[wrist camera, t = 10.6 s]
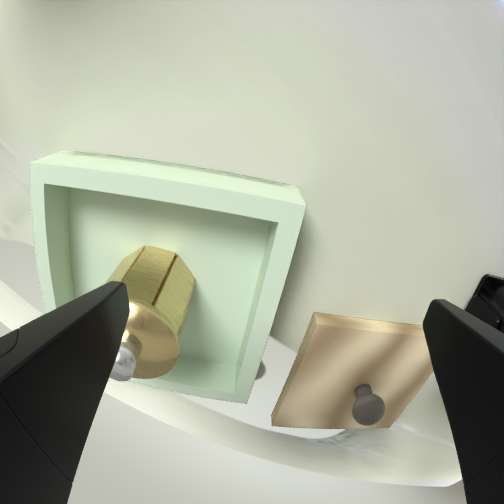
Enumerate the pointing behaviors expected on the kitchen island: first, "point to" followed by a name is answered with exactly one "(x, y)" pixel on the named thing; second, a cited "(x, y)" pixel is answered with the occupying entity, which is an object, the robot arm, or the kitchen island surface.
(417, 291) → the kitchen island surface
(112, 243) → the bin
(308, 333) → the stud plate
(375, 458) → the kitchen island surface
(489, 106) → the kitchen island surface
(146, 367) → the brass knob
